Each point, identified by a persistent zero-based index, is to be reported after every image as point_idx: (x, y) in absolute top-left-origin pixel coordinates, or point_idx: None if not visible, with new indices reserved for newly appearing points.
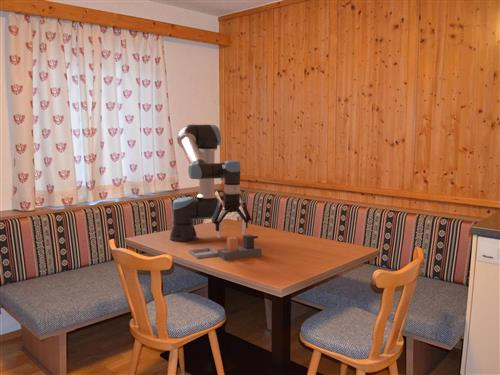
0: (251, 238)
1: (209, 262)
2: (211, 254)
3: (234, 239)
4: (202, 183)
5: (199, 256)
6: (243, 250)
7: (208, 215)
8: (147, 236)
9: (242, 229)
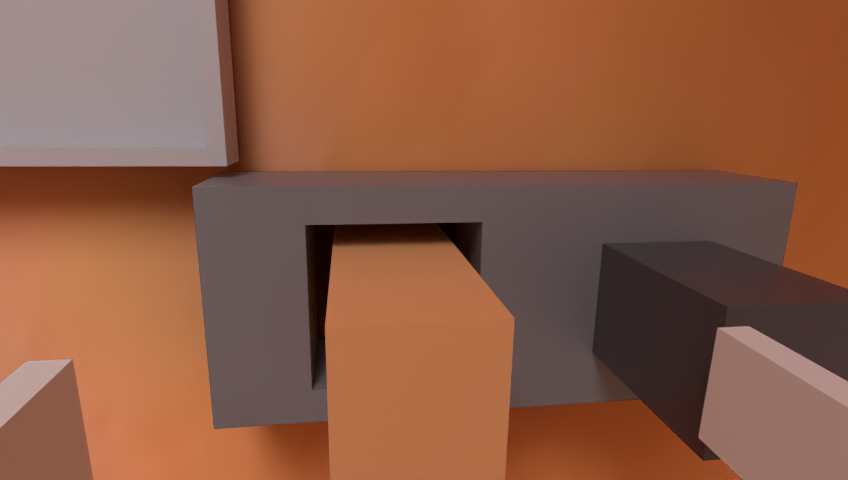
0: None
1: (49, 329)
2: (113, 164)
3: (428, 470)
4: None
5: None
6: (514, 405)
7: None
8: None
9: (813, 407)
